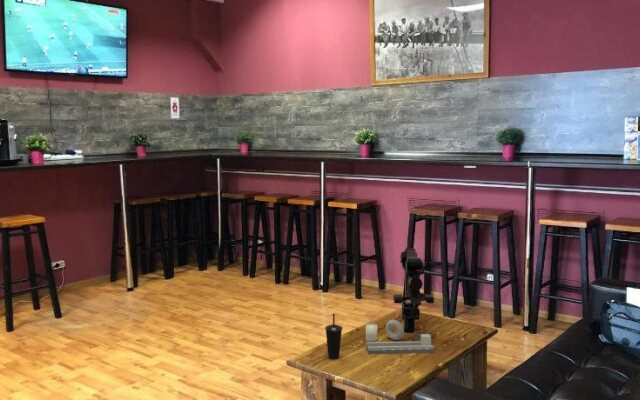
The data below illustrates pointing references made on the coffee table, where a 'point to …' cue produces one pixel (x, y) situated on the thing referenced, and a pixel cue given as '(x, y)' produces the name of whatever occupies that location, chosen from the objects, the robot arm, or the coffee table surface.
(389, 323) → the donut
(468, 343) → the coffee table surface
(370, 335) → the white rounded cylinder
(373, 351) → the rail
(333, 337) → the drinking cup
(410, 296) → the robot arm
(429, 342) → the tally marker
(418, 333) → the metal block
